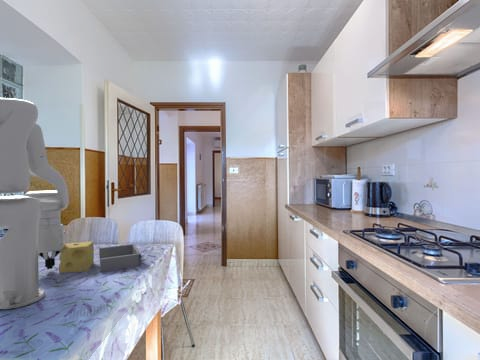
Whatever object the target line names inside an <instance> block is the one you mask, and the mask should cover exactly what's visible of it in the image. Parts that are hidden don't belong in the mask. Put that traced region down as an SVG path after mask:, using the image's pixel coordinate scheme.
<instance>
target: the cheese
mask: <svg viewBox="0 0 480 360" xmlns="http://www.w3.org/2000/svg"><path fill="white" fill-rule="evenodd" d="M94 250H95V249H94V241H81V242H67V243H65V247H64V249H62V253H59V262H60V263H59V265H58V272H59V274H65V273H66V274H67V273H77V272H79V273H80V272H87V271H89V269H90V268H91V267H92V266H93V265H94V261H95V260H94V259H95V257H94V256H95V253H94Z"/></svg>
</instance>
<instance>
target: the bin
mask: <svg viewBox="0 0 480 360" xmlns="http://www.w3.org/2000/svg"><path fill="white" fill-rule="evenodd" d="M98 250H99V251H98V252H99V257H98V258H99V272H100V273H102V272H111V271H115V270H116V271H117V270H123V269H128V268H135V267H141V266H142V254H141V251H140V250H139V248H138V247H137V244H135V243H130V244H121V245H113V246H106V247H105V246H103V247H98Z"/></svg>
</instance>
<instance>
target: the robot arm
mask: <svg viewBox="0 0 480 360" xmlns="http://www.w3.org/2000/svg"><path fill="white" fill-rule="evenodd" d="M38 118H39V110H38V107H37V106H36V104H35V103H33V102H32V101H29V100H24V99H18V98H9V97H7V98H6V97H5V98H4V97H0V195H3V196H0V229H3V230H5V229H7V231H6V232H5V233H4V234H3V235H2V237H1V238H0V309H4V310H10V309H12V308H13V309H17V308H22V307H25V306H28V305H31V304H34V303H36V302H38V301H40V300H41V299H43V298H44V297H45V295H46V291H45V289H43V288H39V287H40V285H39V283H40V282H39V279H40V278H39V277H40V275H39V256H40V257H41V258H43V259H44V267H45V268H46V270H52V269H53V268H54V267H55V264H56V257H57V256H58V255H60V254H61V253H62V249H64V247H65V245H66V237H65V229H64V224H63V223H62V220H61V211H64V210H65V209H67V208H68V206H69V203H70V197H69V190H68V185H67V182H66V180H65V178H64V177H63V176H62V174H61V173H60V172H59V171H58V170H56V169H55V168H54V167H53V166H51V165H50V164H49V161H48V156H47V150H46V144H45V139H44V134H43V130H42V127H41V126H40V125H39V124H38V123H37V121H38ZM31 176H34V177H36V178H40V179H42V180H43V181H44V180H45V182H46V181H47V182H48V183H50V184H51V185H52V186H53V187H54V188H55V190H33V191H32V190H31V191H27V190H28V189H29V188H30V186H31ZM26 191H27V192H26ZM24 192H26V193H24ZM20 193H24V194H23V195H13V194H20ZM5 194H7V195H5ZM10 194H12V195H10ZM50 252H51V255H50V256H49V253H50Z"/></svg>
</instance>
